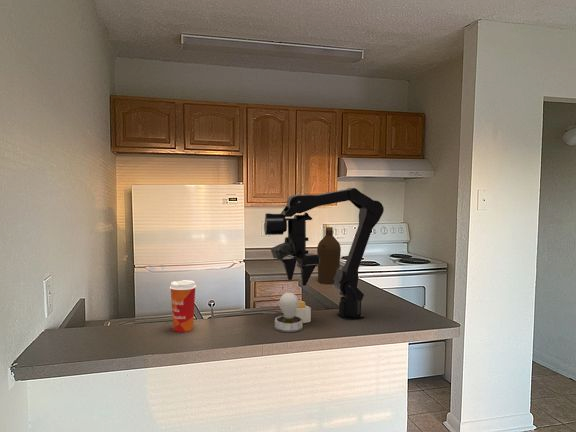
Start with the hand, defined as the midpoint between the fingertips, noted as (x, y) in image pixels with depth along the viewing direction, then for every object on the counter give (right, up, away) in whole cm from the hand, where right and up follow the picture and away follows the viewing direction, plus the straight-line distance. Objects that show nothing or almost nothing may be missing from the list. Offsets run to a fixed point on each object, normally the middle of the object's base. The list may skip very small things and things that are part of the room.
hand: (296, 282), depth 136 cm
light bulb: (-3, -12, -9) cm, 15 cm away
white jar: (+1, -12, -1) cm, 12 cm away
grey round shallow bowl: (-3, -12, -9) cm, 15 cm away
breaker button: (+1, -9, -2) cm, 9 cm away
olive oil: (+15, -9, +56) cm, 59 cm away
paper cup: (-34, -12, -11) cm, 38 cm away
